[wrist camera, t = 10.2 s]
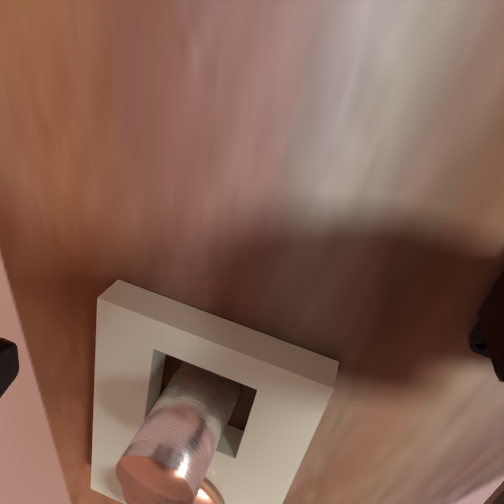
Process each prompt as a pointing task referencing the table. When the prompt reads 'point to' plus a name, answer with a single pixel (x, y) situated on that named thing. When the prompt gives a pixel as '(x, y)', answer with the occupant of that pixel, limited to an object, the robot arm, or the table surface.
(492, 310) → the robot arm
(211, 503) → the copper flanged knob
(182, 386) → the loose cylinder
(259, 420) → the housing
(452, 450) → the table surface
